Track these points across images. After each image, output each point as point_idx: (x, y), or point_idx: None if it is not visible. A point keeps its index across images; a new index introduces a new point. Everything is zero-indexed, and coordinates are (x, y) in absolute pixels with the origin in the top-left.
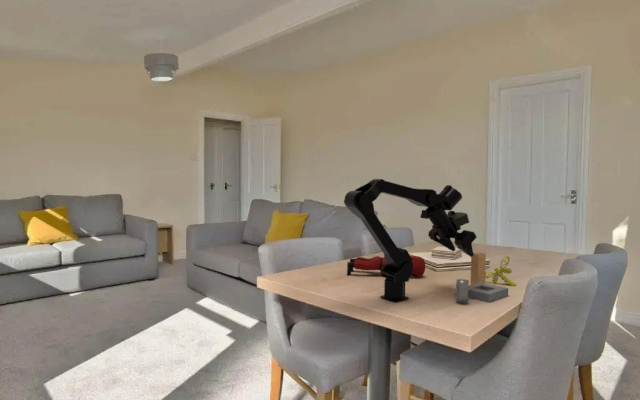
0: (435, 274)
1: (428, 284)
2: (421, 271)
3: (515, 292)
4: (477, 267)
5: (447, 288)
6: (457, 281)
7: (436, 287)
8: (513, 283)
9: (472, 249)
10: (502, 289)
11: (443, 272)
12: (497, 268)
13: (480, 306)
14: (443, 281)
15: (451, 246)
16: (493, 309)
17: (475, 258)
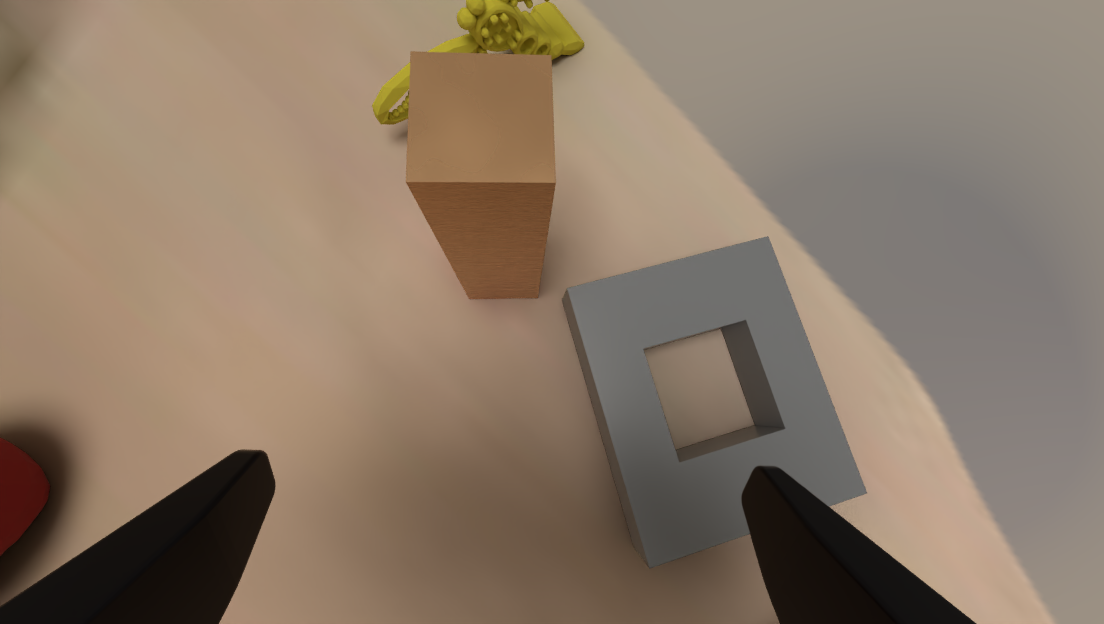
0: (43, 285)
1: (274, 573)
2: (1, 508)
3: (696, 155)
4: (534, 250)
5: (443, 505)
6: None
7: (381, 571)
8: (572, 33)
9: (921, 581)
10: (784, 300)
11: (31, 178)
12: (484, 1)
13: None
14: (261, 385)
15: (187, 601)
16: (954, 571)
17: (498, 212)
